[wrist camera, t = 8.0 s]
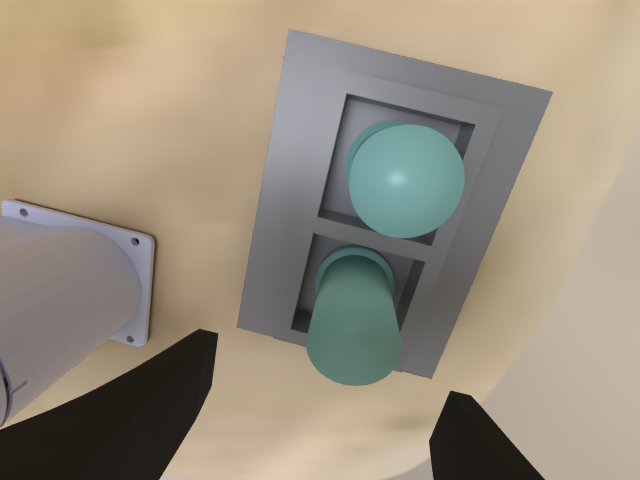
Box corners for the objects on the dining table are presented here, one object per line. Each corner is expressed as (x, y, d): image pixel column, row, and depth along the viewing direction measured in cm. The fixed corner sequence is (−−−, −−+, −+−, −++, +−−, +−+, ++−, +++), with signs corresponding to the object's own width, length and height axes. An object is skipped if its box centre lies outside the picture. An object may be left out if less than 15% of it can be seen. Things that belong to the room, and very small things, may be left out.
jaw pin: (338, 200, 17) (329, 233, 11) (355, 113, 16) (354, 102, 10) (419, 215, 17) (451, 257, 11) (443, 130, 16) (494, 127, 10)
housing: (243, 316, 21) (223, 347, 18) (293, 36, 16) (279, 13, 13) (427, 365, 21) (439, 405, 18) (538, 94, 16) (582, 85, 13)
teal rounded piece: (309, 303, 19) (288, 375, 13) (326, 235, 18) (311, 283, 12) (380, 322, 19) (390, 403, 13) (403, 255, 18) (425, 313, 12)
